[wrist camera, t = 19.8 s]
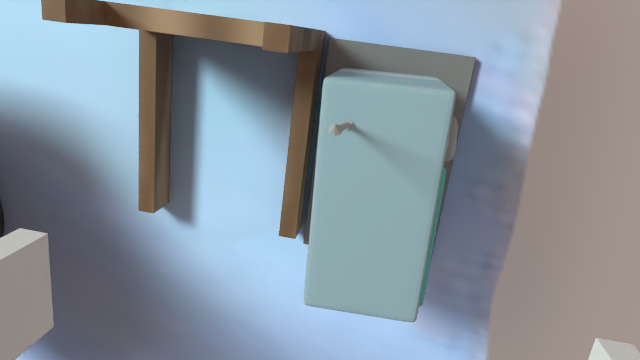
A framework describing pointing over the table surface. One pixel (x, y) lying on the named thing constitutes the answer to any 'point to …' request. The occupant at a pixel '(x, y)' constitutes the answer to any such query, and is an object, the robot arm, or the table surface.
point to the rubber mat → (405, 61)
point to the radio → (378, 191)
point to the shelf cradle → (156, 80)
